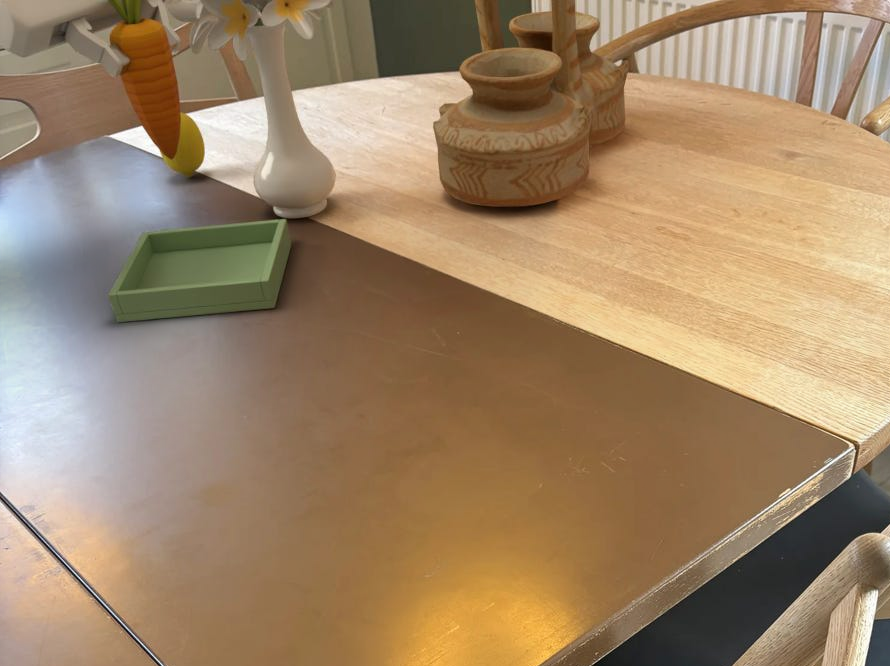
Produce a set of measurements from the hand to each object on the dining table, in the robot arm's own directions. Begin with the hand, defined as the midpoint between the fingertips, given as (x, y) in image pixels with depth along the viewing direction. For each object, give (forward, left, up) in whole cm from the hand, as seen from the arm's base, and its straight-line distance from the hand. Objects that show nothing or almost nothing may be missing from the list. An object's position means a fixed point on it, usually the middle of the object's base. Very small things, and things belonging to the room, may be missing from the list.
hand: (148, 60), depth 90 cm
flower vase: (+7, +19, -21) cm, 29 cm away
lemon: (-8, +34, -21) cm, 41 cm away
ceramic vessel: (+36, +27, -21) cm, 50 cm away
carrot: (0, 0, -9) cm, 9 cm away
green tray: (0, +1, -21) cm, 21 cm away
